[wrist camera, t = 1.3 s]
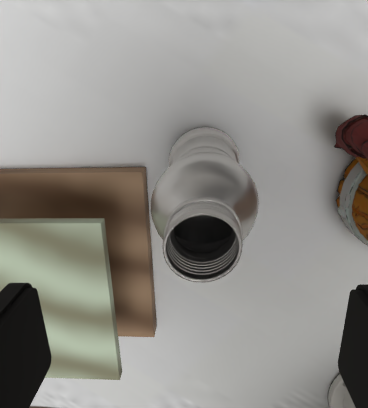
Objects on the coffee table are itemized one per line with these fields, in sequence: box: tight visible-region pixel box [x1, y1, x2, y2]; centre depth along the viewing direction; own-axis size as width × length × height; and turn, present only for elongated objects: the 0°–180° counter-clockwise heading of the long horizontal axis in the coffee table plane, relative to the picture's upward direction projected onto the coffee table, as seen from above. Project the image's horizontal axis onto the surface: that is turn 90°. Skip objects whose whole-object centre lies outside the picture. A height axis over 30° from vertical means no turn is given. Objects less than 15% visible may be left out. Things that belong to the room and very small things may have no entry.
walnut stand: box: [0, 167, 157, 380], centre depth 34 cm, size 20×20×10 cm
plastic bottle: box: [151, 127, 259, 282], centre depth 25 cm, size 6×7×20 cm
